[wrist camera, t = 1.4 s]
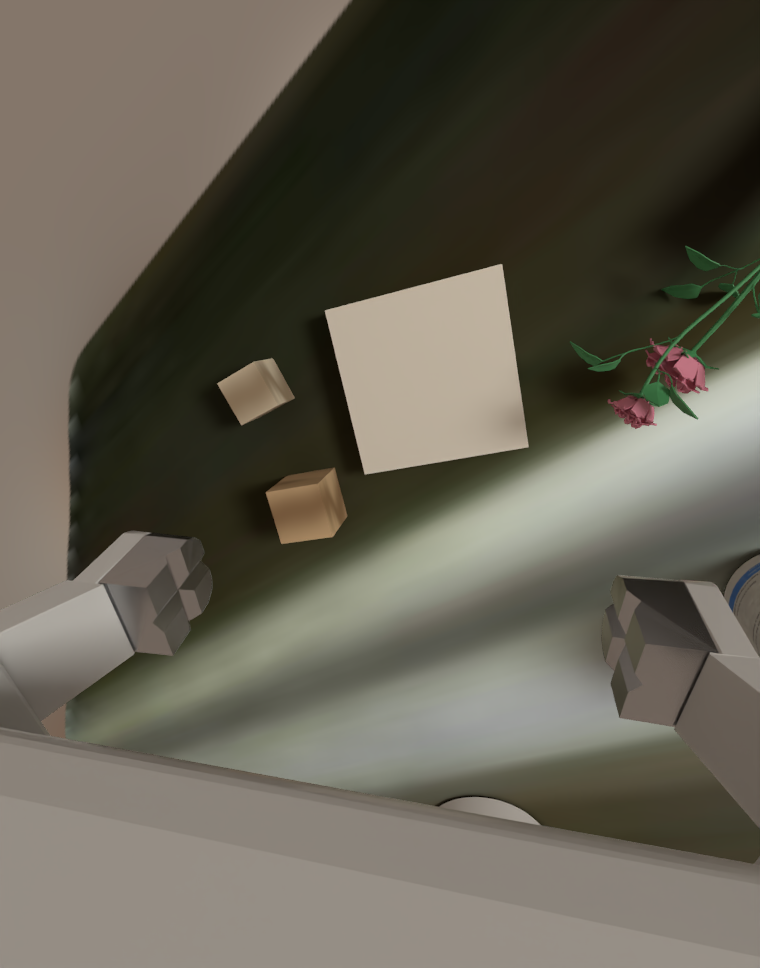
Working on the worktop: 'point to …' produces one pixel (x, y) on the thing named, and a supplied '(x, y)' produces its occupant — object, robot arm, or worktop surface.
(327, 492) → the oak block
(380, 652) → the worktop surface
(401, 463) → the plate
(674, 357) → the flower vase
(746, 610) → the supplement tub
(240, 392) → the maple block
